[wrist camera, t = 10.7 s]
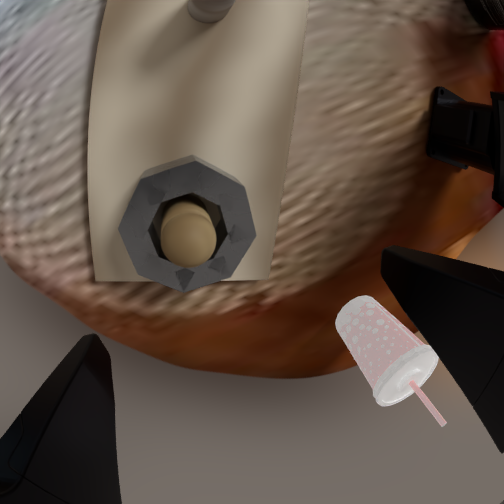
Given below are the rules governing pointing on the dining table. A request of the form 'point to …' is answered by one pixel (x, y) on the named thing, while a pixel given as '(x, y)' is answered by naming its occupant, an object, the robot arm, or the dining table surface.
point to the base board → (192, 119)
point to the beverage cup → (386, 352)
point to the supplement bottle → (488, 13)
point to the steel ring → (174, 185)
